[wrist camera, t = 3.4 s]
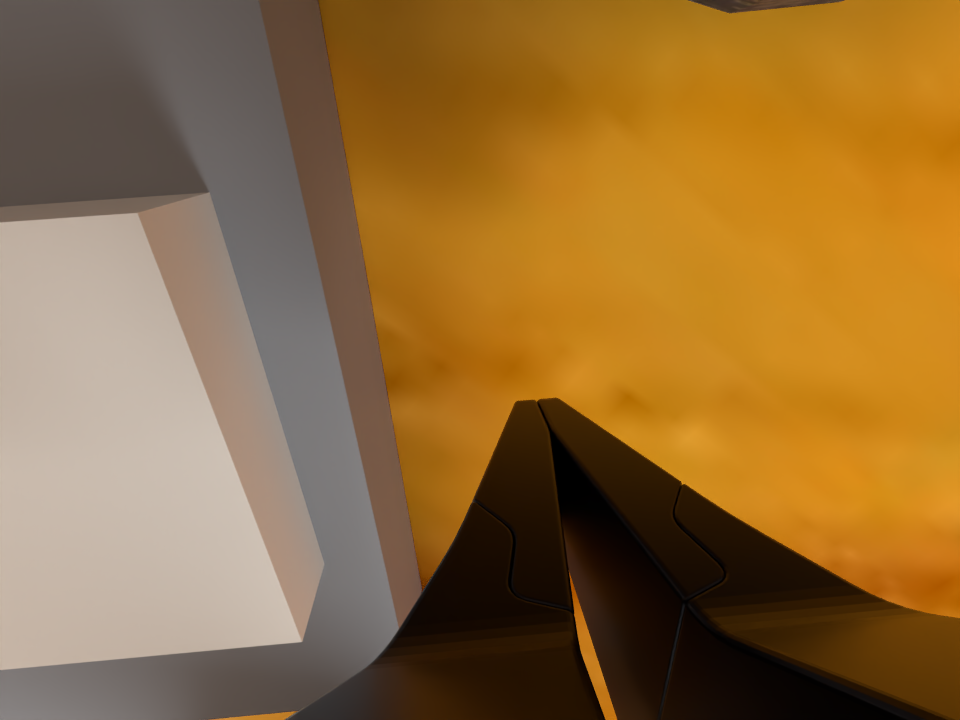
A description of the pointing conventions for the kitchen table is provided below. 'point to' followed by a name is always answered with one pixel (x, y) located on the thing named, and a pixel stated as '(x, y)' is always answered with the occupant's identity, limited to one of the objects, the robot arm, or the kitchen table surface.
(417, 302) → the kitchen table surface
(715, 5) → the grey brown round disc
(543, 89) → the kitchen table surface
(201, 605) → the ceramic tile
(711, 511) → the robot arm
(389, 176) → the kitchen table surface
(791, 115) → the kitchen table surface
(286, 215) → the gray rectangular block
